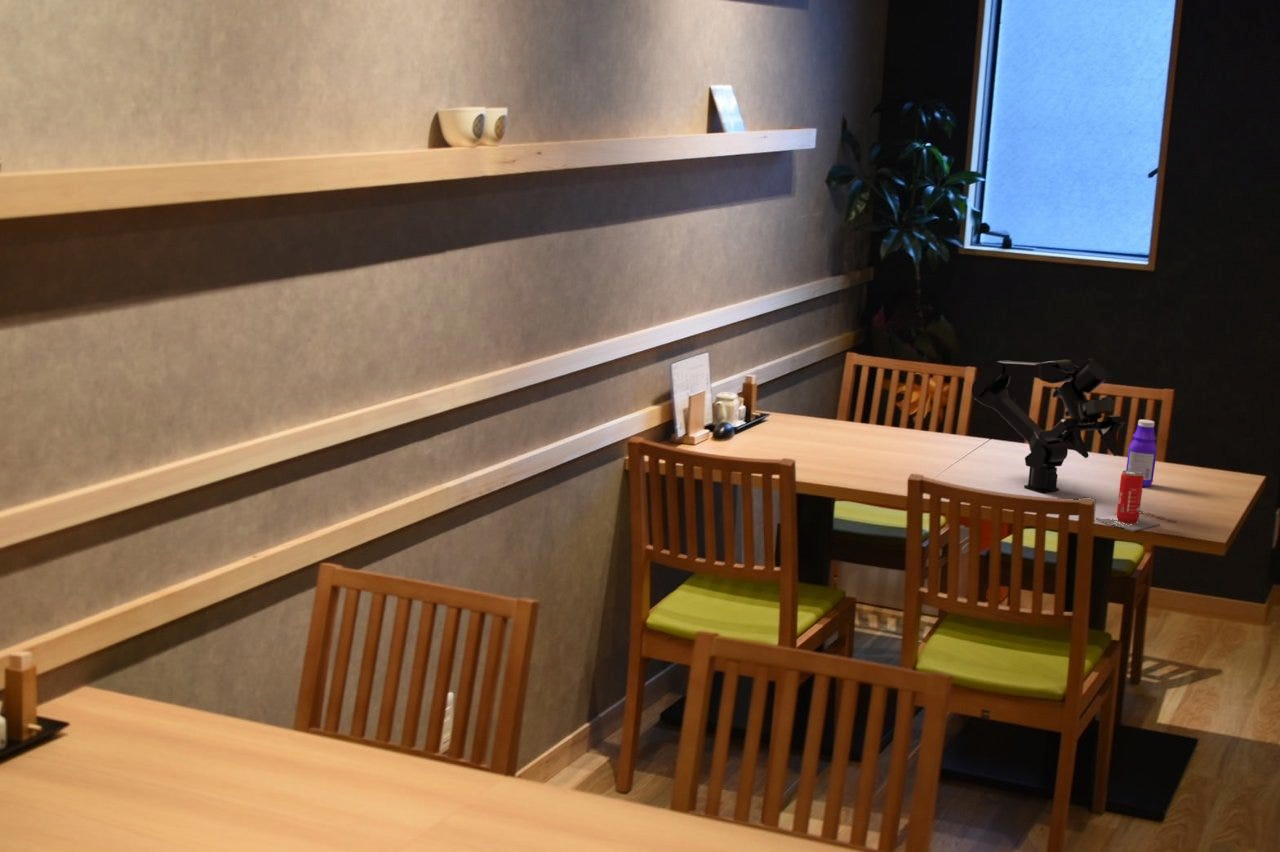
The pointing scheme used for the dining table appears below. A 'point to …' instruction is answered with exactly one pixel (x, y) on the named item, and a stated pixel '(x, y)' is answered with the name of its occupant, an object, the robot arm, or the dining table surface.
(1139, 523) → the mat
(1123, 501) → the beverage can
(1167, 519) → the line
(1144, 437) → the bottle
